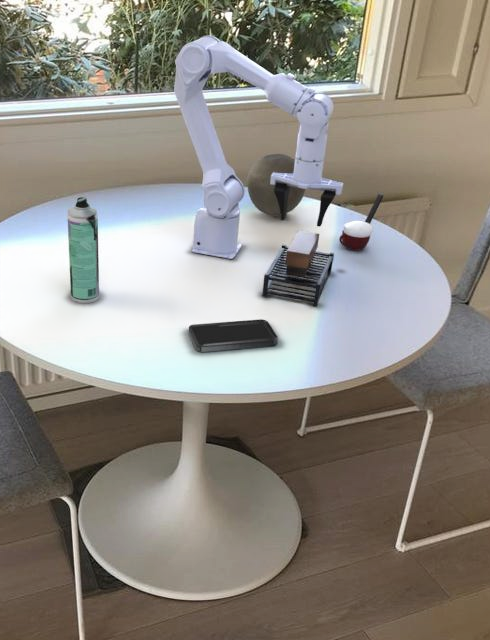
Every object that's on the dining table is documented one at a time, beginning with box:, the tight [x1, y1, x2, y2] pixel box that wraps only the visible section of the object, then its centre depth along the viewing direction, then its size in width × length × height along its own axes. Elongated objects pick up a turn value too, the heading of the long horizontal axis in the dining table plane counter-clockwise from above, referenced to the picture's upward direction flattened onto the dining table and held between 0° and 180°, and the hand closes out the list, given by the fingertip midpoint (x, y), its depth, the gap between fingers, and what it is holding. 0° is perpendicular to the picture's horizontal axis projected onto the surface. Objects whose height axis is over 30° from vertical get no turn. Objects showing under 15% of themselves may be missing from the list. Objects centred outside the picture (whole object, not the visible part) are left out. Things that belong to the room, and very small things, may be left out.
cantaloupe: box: [246, 153, 306, 217], centre depth 185 cm, size 14×14×15 cm
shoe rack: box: [261, 243, 335, 308], centre depth 156 cm, size 11×16×5 cm
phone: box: [188, 318, 279, 353], centre depth 138 cm, size 8×1×15 cm
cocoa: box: [338, 192, 384, 251], centre depth 171 cm, size 10×6×12 cm, turn 95°
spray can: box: [67, 196, 100, 304], centre depth 144 cm, size 6×6×20 cm
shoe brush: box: [285, 230, 320, 277], centre depth 154 cm, size 4×11×5 cm, turn 161°
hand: (301, 221), depth 160 cm, fingers open, 7 cm apart
